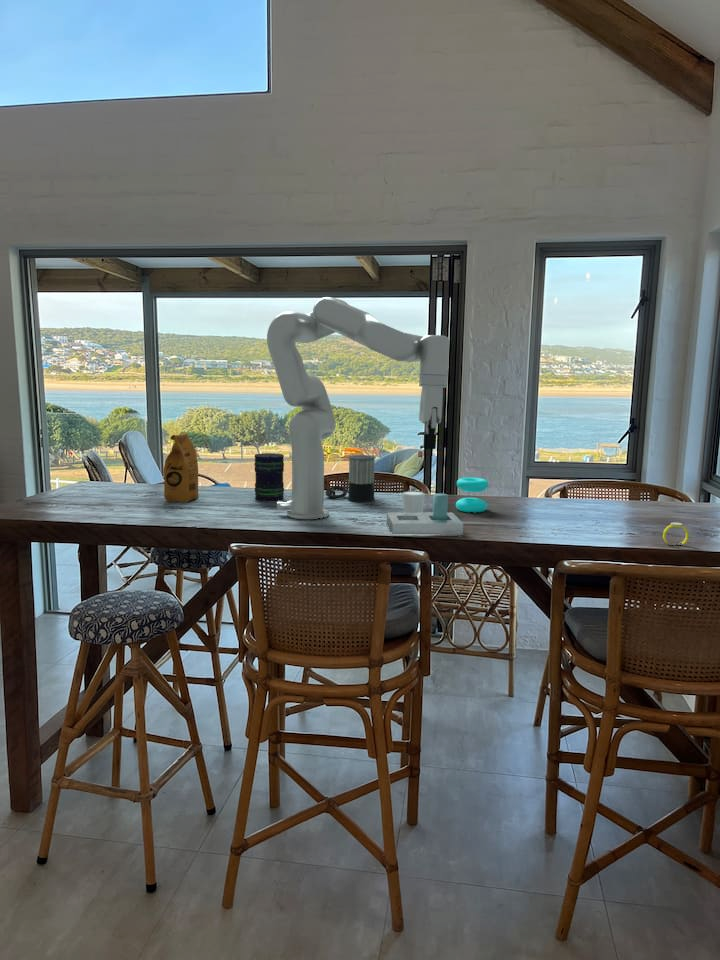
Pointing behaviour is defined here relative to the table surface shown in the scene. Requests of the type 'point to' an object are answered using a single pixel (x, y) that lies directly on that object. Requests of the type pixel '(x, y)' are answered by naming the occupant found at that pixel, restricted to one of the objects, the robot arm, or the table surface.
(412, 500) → the grey cup
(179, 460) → the coffee package
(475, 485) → the donuts
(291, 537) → the table surface
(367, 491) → the milk frother
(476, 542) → the table surface
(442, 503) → the peg
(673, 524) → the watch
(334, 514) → the table surface
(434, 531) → the block
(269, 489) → the storage jar
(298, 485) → the robot arm
